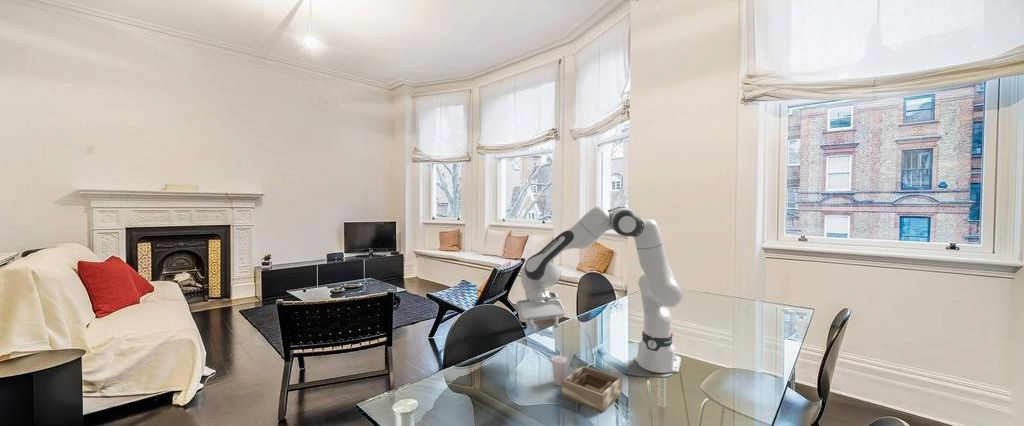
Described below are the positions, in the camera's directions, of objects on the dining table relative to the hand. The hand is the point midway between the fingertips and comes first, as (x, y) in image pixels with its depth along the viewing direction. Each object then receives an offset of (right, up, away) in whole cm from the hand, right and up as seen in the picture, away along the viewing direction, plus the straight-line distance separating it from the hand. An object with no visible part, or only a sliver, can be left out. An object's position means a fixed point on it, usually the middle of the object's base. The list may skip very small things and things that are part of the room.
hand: (546, 328), depth 165 cm
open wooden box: (+15, -19, -18) cm, 30 cm away
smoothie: (+4, -18, -10) cm, 21 cm away
